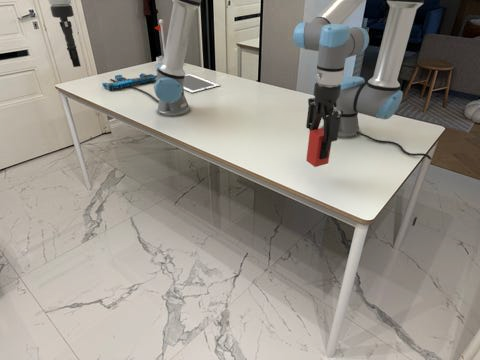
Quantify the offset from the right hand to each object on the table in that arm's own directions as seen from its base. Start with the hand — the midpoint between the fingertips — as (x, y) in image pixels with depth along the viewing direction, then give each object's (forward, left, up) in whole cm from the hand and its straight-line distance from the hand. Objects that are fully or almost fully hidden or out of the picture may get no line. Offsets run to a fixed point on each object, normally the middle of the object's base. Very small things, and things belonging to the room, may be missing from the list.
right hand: (317, 154), depth 110 cm
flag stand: (+170, +6, -10) cm, 170 cm away
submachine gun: (+141, +36, -10) cm, 146 cm away
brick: (0, 0, -3) cm, 3 cm away
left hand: (+82, +65, +18) cm, 106 cm away
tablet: (+123, +3, -10) cm, 123 cm away
